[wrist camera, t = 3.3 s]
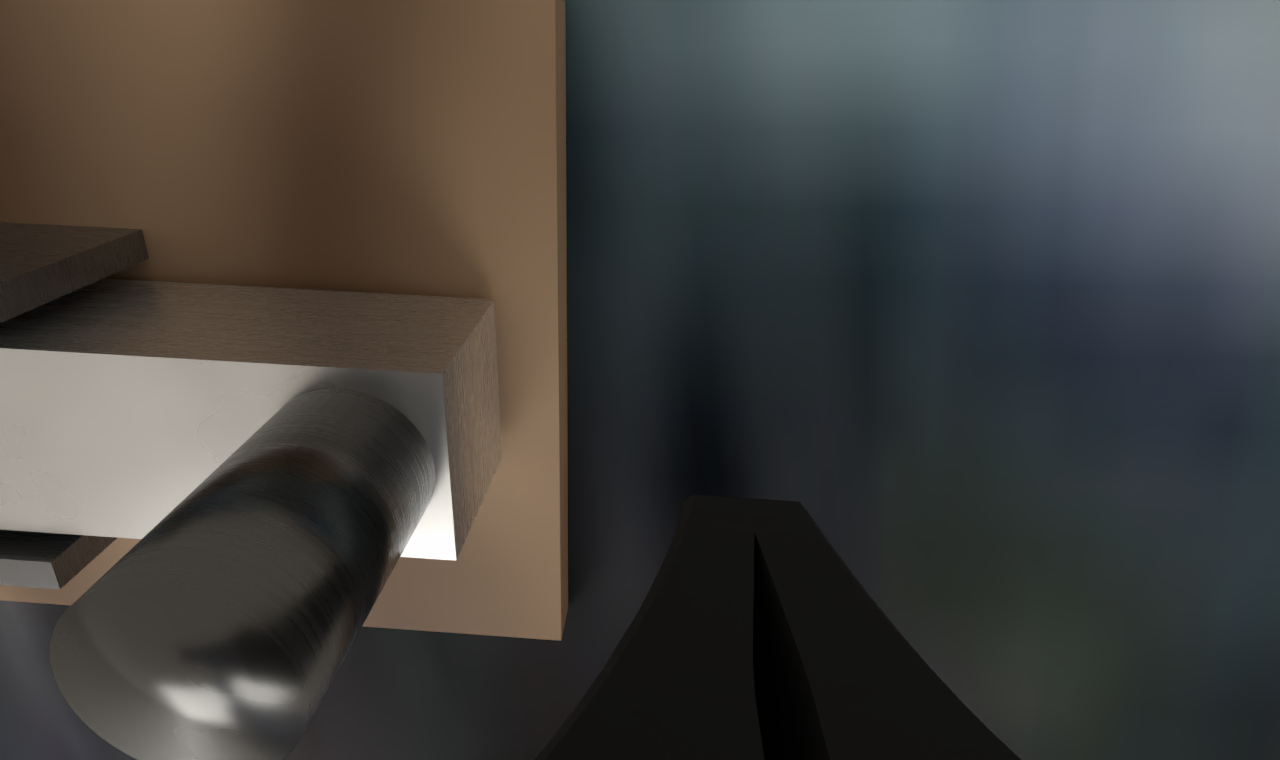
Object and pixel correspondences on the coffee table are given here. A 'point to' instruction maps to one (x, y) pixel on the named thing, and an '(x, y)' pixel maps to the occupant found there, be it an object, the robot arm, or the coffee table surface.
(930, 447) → the coffee table surface
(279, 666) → the bolt
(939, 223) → the coffee table surface
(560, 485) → the guide board
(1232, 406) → the coffee table surface
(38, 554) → the channel
